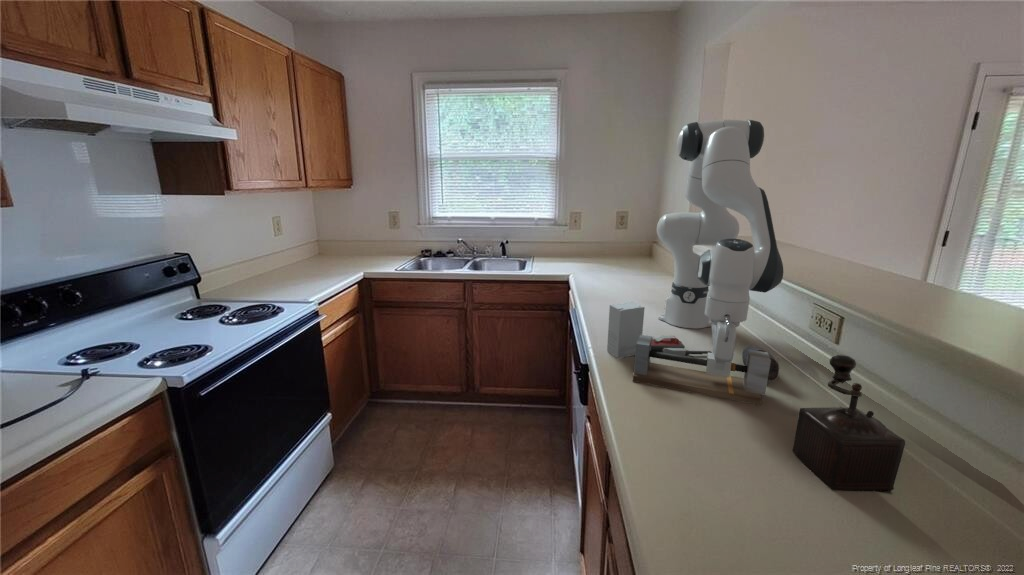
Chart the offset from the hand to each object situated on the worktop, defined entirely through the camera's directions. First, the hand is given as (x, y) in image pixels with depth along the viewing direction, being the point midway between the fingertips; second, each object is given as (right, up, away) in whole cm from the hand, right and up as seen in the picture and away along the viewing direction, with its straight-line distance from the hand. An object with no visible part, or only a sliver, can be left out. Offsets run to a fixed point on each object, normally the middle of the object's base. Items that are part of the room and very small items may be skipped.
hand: (718, 364), depth 99 cm
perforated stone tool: (+15, -4, +10) cm, 18 cm away
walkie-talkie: (-2, -1, +24) cm, 24 cm away
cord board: (-5, -5, +3) cm, 8 cm away
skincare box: (-17, -1, +22) cm, 28 cm away
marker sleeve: (0, -2, +1) cm, 2 cm away
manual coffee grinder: (+8, -13, -25) cm, 29 cm away
